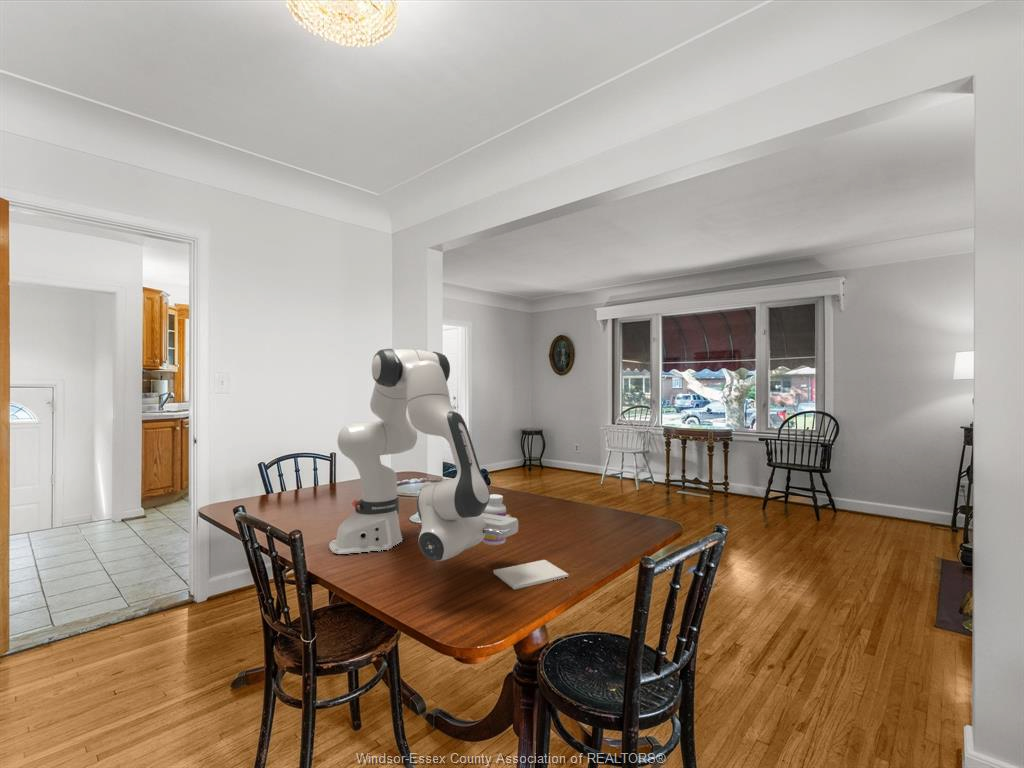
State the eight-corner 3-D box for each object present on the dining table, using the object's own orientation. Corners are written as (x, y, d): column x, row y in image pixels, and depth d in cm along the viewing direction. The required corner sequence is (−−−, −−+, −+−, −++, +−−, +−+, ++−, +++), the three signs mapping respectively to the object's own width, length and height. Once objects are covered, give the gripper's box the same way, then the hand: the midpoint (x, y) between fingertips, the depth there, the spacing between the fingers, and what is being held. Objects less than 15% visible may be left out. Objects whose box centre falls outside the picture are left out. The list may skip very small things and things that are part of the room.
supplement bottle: (497, 547, 133) (497, 500, 133) (477, 543, 137) (477, 497, 137) (510, 540, 139) (510, 495, 139) (491, 536, 142) (491, 492, 142)
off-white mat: (514, 589, 121) (514, 586, 121) (493, 573, 132) (493, 570, 132) (568, 577, 128) (568, 574, 128) (544, 562, 139) (544, 559, 139)
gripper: (503, 522, 121) (528, 508, 133) (437, 511, 131) (466, 499, 143) (503, 547, 121) (528, 532, 134) (437, 534, 131) (466, 521, 143)
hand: (495, 515), depth 138 cm, fingers closed on supplement bottle, 7 cm apart
